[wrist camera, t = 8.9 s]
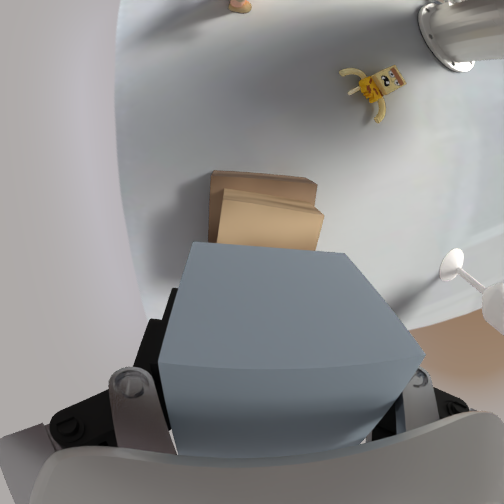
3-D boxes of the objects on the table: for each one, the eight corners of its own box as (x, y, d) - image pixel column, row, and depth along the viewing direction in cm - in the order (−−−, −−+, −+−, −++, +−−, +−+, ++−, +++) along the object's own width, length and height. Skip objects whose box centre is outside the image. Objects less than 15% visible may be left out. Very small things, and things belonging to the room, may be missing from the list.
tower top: (224, 188, 27) (223, 199, 22) (309, 202, 28) (324, 215, 24) (213, 267, 30) (210, 291, 26) (290, 276, 32) (300, 300, 27)
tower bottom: (213, 170, 31) (210, 175, 26) (305, 177, 32) (317, 184, 27) (210, 255, 35) (207, 273, 31) (293, 259, 36) (302, 277, 32)
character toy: (340, 70, 24) (386, 47, 22) (330, 75, 26) (374, 53, 25) (377, 129, 26) (418, 103, 25) (365, 128, 29) (404, 104, 28)
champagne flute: (440, 287, 41) (520, 372, 19) (438, 259, 38) (533, 343, 16) (464, 270, 40) (544, 344, 18) (463, 242, 37) (557, 313, 15)
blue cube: (193, 241, 10) (157, 362, 5) (344, 253, 11) (425, 355, 5) (193, 356, 12) (182, 467, 7) (312, 359, 13) (344, 459, 8)
